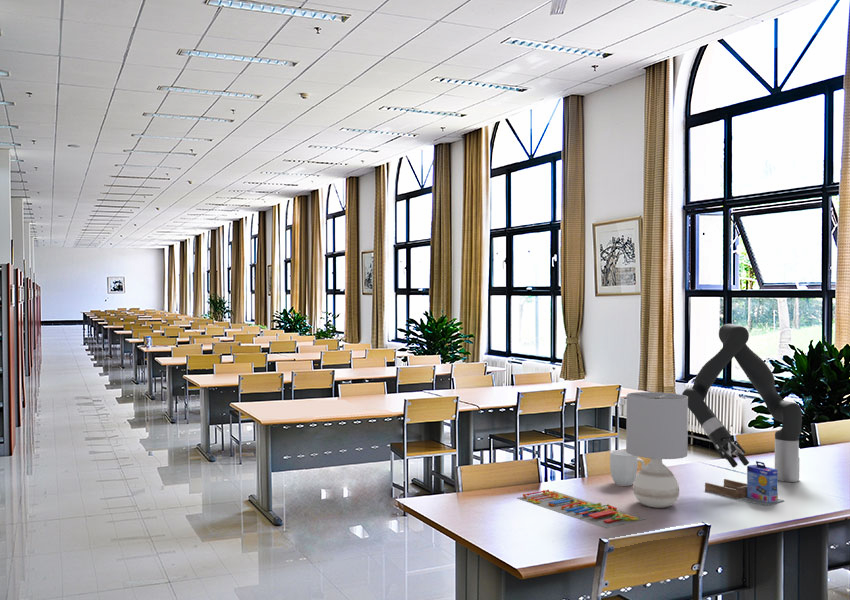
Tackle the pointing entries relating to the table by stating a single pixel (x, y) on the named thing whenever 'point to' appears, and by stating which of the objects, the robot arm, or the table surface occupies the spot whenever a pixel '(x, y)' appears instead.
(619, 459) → the mug
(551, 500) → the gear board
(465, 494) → the table surface
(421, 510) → the table surface
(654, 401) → the lamp
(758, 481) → the ink cartridge box
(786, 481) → the robot arm
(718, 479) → the table surface
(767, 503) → the pad
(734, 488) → the frame
